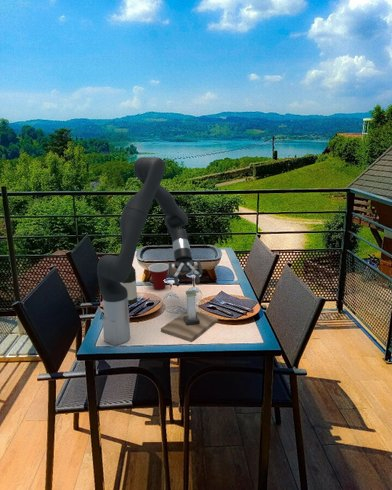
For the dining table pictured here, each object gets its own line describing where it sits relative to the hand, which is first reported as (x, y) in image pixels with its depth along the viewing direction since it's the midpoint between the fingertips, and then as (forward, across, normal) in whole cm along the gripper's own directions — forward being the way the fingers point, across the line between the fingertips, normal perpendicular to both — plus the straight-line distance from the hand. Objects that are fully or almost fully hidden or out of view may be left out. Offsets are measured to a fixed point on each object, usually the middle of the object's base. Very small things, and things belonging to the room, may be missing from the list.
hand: (187, 284), depth 152 cm
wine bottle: (-4, -24, +26) cm, 35 cm away
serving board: (+16, -1, +6) cm, 17 cm away
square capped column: (+14, 0, +6) cm, 15 cm away
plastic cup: (-16, -7, +38) cm, 42 cm away
